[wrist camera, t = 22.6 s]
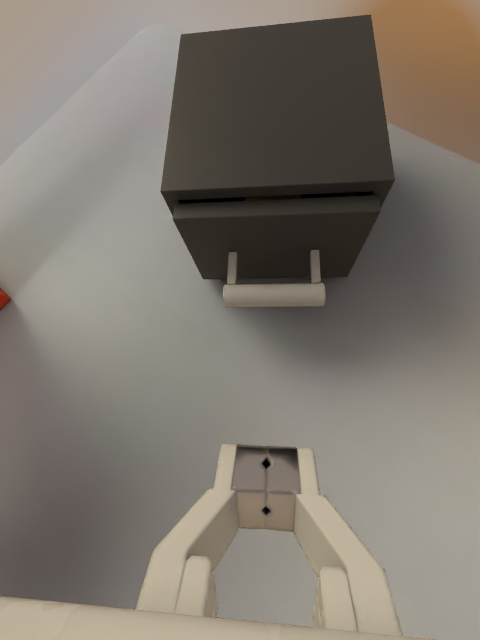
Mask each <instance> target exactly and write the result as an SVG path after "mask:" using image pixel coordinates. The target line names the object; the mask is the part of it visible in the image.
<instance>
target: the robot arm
mask: <svg viewBox="0 0 480 640" xmlns="http://www.w3.org/2000/svg"><path fill="white" fill-rule="evenodd" d="M239 528H248V529H269V530H279V531H289V532H294V535H295V537H296V539H297V540H298V542H299V544H300V546H301V548H302V549H303V551H304V553H305V555H306V557H307V558H308V560H309V562H310V564H311V566H312V567H313V569H314V571H315V573H316V575H317V576H318V578H319V579H318V586H317V593H316V600H315V606H314V613H313V623H314V627H306V626H296V625H286V624H276V623H266V622H256V621H246V620H236V619H226V618H217V614H218V604H217V597H216V590H215V583H214V576H213V571H214V569H215V567H216V566H217V564H218V563H219V561H220V559H221V558H222V556H223V555H224V553H225V551H226V550H227V548H228V547H229V545H230V544H231V542H232V540H233V539H234V537H235V536H236V534H237V532H238V531H239ZM0 640H436V639H426V638H416V637H406V636H403V634H402V630H401V627H400V623H399V619H398V616H397V612H396V609H395V605H394V601H393V598H392V594H391V591H390V587H389V583H388V580H387V576H386V573H385V569H384V568H383V567H382V566H381V564H380V563H379V562H378V561H377V559H376V558H375V557H374V556H373V554H372V553H371V552H370V551H369V549H368V548H367V547H366V546H365V544H364V543H363V542H362V541H361V540H360V538H359V537H358V536H357V535H356V533H355V532H354V531H353V530H352V528H351V527H350V526H349V525H348V523H347V522H346V521H345V520H344V518H343V517H342V516H341V515H340V513H339V512H338V511H337V510H336V508H335V507H334V506H333V505H332V503H331V502H330V501H329V500H328V498H327V497H326V496H324V495H320V489H319V482H318V476H317V469H316V462H315V456H314V450H313V448H305V447H297V448H296V447H284V446H253V445H239V444H222V446H221V448H220V453H219V459H218V465H217V470H216V476H215V481H214V487H213V489H208V490H207V491H206V492H205V493H204V494H203V496H202V497H201V498H200V499H199V500H198V501H197V502H196V503H195V505H194V506H193V507H192V508H191V509H190V510H189V511H188V512H187V513H186V515H185V516H184V517H183V518H182V519H181V520H180V521H179V522H178V524H177V525H176V526H175V527H174V528H173V529H172V530H171V531H170V532H169V534H168V535H167V536H166V537H165V538H164V539H163V540H162V541H161V543H160V544H159V545H158V546H157V547H156V548H155V549H154V550H153V553H152V557H151V560H150V563H149V566H148V570H147V573H146V576H145V579H144V583H143V586H142V589H141V592H140V596H139V599H138V602H137V605H136V609H125V608H115V607H105V606H95V605H85V604H75V603H65V602H55V601H45V600H34V599H24V598H14V597H4V596H0Z"/></svg>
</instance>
